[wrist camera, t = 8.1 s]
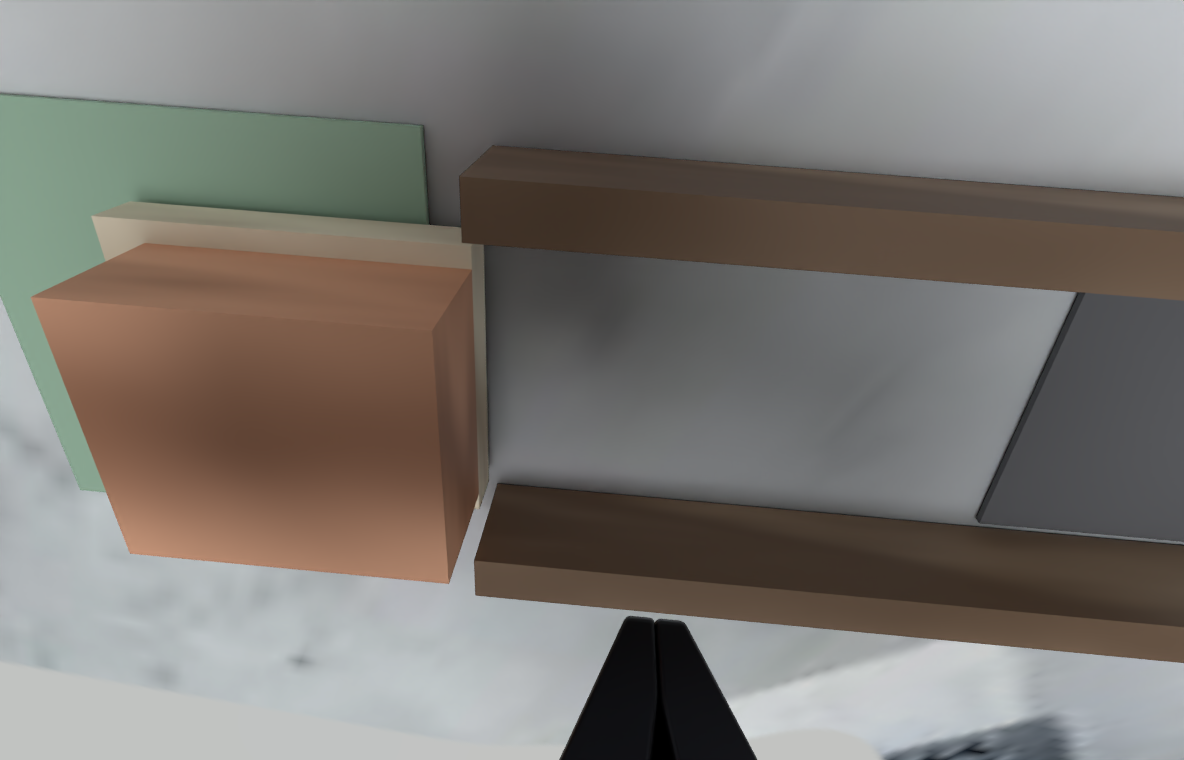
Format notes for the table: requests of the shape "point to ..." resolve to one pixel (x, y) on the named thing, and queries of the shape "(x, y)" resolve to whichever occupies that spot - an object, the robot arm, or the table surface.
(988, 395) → the table surface
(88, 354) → the block
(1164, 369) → the trap pit
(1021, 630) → the channel
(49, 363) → the pad
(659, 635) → the robot arm
